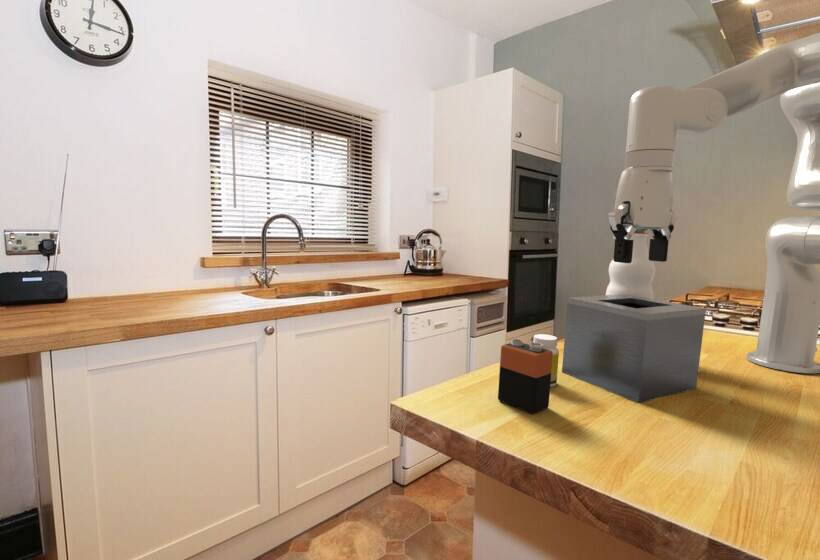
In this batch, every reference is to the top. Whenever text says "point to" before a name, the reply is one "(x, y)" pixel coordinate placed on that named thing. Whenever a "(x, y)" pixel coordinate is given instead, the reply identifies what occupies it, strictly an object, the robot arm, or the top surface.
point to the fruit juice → (633, 270)
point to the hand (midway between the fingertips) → (640, 261)
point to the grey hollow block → (633, 345)
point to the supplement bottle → (551, 344)
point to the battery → (525, 375)
